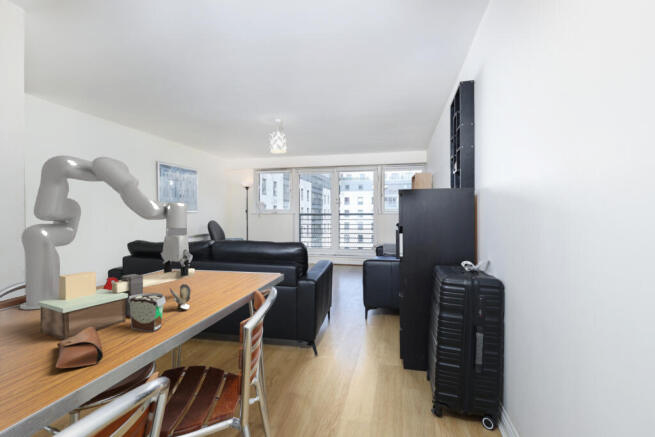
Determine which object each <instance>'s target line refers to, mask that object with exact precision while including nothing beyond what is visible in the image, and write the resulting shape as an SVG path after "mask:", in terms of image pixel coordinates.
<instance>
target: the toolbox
mask: <svg viewBox="0 0 655 437" xmlns="http://www.w3.org/2000/svg"><path fill="white" fill-rule="evenodd" d="M143 277H144V275H142V274H136V273H132V274H131V273H130V274H125V275H121V276H120V281H125V280H127V281H129V290H128V291H124V292H121V293H126V294H128V298H123V299H119V300H115V301H111V302H107V303H103V304H98V305H94V306H90V307H86V308H82V309H78V310H74V311H69V312H65V313H61V312H58V311H55V310H51V309H48V308H44V307H41V309H40V333H42V334H46V335H48V336H51V337H53V338H56V339H58V340H61V341H63V340H65V339H68V338H70V337H72V336H75V335H77V334H78V333H80V332H82V331H83V330H85V329H87V328H89V327H94V328H95V330H96V332H98V331H100V330H104V329H107V328H110V327H114V326H117V325H119V324H123V323H126V317H127V316H129V319H130V320H131V315H130V303H128V299H129V296H132V295H138V294H144V287H143Z"/></svg>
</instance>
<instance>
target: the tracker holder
mask: <svg viewBox="0 0 655 437" xmlns="http://www.w3.org/2000/svg"><path fill="white" fill-rule="evenodd" d="M114 282H119V280H118V278H116V277H113V276H112V277H107V278H106V282H105V284H104V286H103V288H102V289H106V290H111V291H112V283H114Z"/></svg>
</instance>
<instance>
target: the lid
mask: <svg viewBox="0 0 655 437" xmlns="http://www.w3.org/2000/svg"><path fill="white" fill-rule="evenodd" d="M123 298H128V294H126V293H121V292H119V293H115V292H112V291H111V290H106V289H103V288H97V273H96V272H95V271H90V270H89V271H83V272H76V273H69V274H63V275H61V274H60V276H59V297H58V298H53V299H48V300H43V301H38V306H41V307H44V308H48V309H51V310H55V311H58V312H61V313H65V312H69V311H74V310H78V309H82V308H86V307H90V306H94V305H98V304H103V303H107V302H111V301H115V300H119V299H123Z"/></svg>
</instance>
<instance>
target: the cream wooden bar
mask: <svg viewBox="0 0 655 437" xmlns="http://www.w3.org/2000/svg"><path fill="white" fill-rule="evenodd" d="M195 275H196V274H195V268H190V267H189V270H188V276H183V277H181V269H179V270H172V272H167V273H164V272H162V273H158V274H157V273H156V274H152V275H147V276H143V288H146V287H151V286H155V285H156V286H157V285H159V284H165V283H169V282H174V281H178V280H182V279H188V278H191V277H195ZM118 281H119V280H118ZM128 290H129V281H127V280H125V281H121V280H120V281H119V282H114V283H112V292H115V293H119V292H124V291H128Z"/></svg>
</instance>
